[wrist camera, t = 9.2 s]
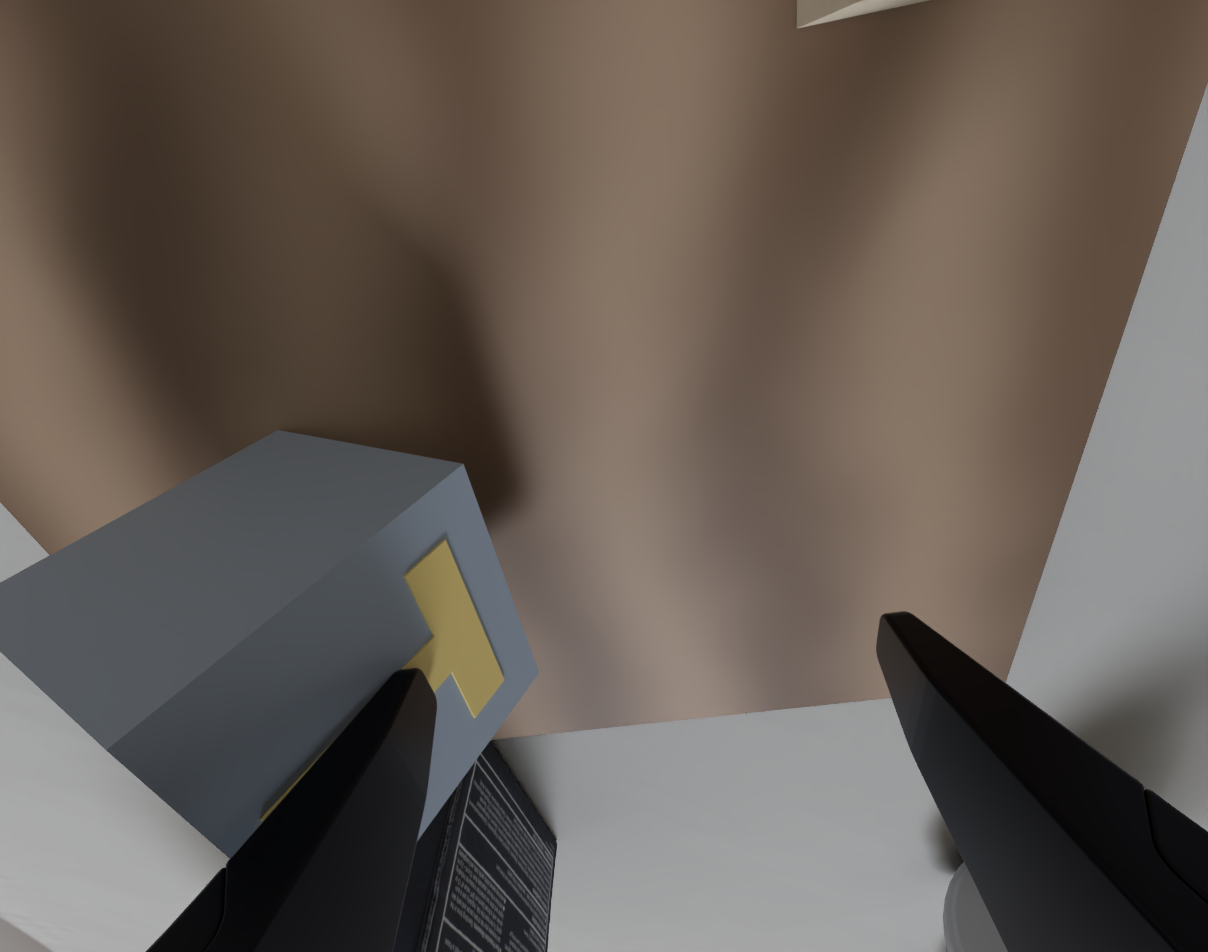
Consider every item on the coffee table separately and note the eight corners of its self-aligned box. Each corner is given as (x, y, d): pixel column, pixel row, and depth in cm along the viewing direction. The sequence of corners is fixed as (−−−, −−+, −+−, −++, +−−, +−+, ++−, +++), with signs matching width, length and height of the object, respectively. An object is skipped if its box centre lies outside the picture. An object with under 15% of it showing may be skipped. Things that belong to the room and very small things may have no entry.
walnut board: (1420, -839, 6) (1580, -1024, 5) (983, 656, 20) (1004, 685, 19) (-550, -211, 9) (-703, -254, 8) (261, 735, 22) (245, 765, 21)
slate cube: (108, 751, 6) (-47, 608, 9) (338, 954, 9) (168, 798, 12) (465, 464, 10) (277, 429, 13) (540, 673, 14) (376, 607, 17)
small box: (324, 738, 22) (141, 1149, 13) (477, 711, 21) (390, 1133, 13) (435, 859, 28) (358, 1205, 19) (561, 842, 27) (541, 1197, 18)
